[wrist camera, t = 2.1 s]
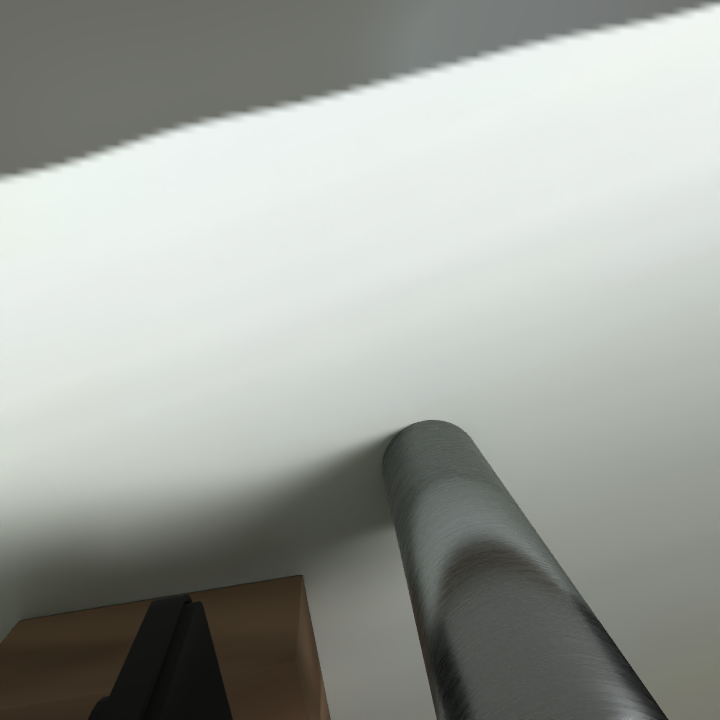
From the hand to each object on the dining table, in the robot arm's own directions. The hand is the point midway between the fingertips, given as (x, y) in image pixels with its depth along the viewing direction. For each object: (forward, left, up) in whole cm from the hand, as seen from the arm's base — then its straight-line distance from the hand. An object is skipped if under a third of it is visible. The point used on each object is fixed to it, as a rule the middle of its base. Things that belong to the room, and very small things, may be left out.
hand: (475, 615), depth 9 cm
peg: (-1, -1, -7) cm, 7 cm away
